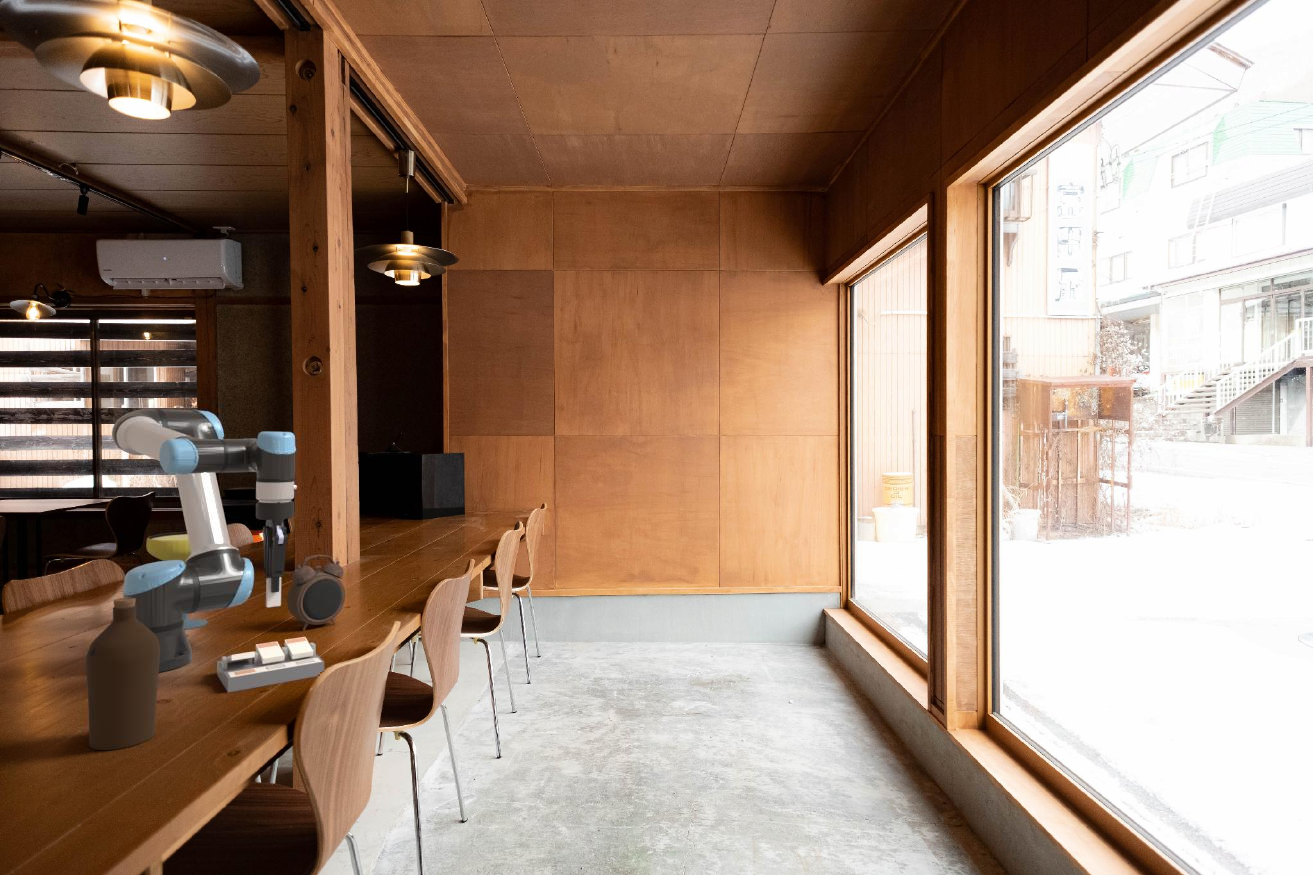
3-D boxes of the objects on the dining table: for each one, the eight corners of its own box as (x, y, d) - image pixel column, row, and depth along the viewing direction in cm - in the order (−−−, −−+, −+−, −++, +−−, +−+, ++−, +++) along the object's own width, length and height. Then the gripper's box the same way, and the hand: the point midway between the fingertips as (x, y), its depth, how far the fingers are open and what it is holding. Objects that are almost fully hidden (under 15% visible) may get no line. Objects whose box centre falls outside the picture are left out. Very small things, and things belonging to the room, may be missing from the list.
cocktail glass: (237, 620, 209) (239, 533, 209) (181, 636, 191) (182, 542, 191) (187, 614, 214) (189, 529, 214) (128, 630, 196) (129, 538, 196)
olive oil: (136, 751, 124) (138, 606, 124) (69, 753, 123) (71, 606, 123) (171, 726, 135) (173, 592, 135) (110, 727, 134) (112, 592, 134)
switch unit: (227, 692, 153) (228, 667, 153) (216, 674, 163) (217, 651, 163) (324, 674, 165) (324, 651, 165) (307, 659, 175) (308, 637, 175)
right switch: (292, 659, 164) (292, 654, 164) (284, 644, 170) (284, 639, 170) (313, 655, 167) (313, 650, 167) (304, 641, 173) (305, 636, 173)
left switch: (231, 660, 157) (231, 654, 157) (225, 662, 162) (225, 656, 163) (254, 656, 159) (254, 650, 160) (248, 659, 165) (247, 653, 165)
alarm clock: (297, 634, 196) (299, 560, 196) (284, 629, 200) (286, 557, 200) (348, 623, 208) (350, 553, 207) (335, 619, 212) (336, 550, 212)
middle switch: (262, 663, 161) (262, 658, 160) (255, 649, 166) (256, 644, 166) (284, 660, 163) (284, 654, 163) (276, 646, 169) (277, 641, 169)
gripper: (301, 502, 160) (298, 609, 160) (286, 497, 170) (284, 598, 170) (262, 504, 155) (260, 614, 155) (250, 498, 165) (248, 602, 165)
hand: (273, 605), depth 163 cm, fingers closed
